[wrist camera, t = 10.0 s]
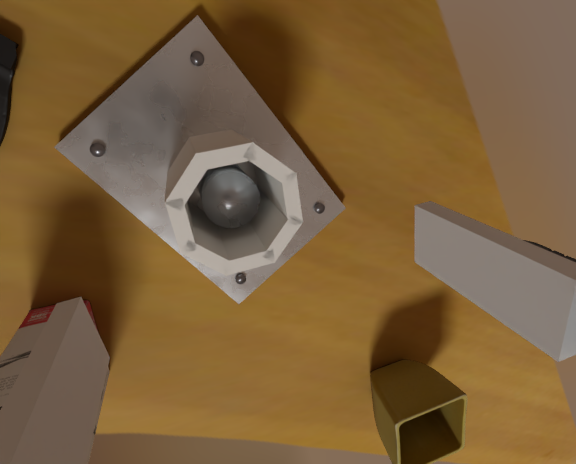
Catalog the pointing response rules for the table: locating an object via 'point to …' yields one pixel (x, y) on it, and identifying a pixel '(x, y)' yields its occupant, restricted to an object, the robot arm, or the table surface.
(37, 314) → the ink box
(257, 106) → the duct plate
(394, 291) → the table surface
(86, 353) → the robot arm
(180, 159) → the octagonal hollow tube
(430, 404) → the flower pot
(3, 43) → the curved wedge
